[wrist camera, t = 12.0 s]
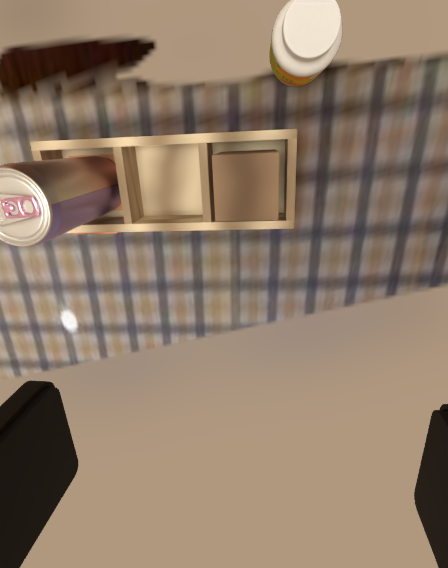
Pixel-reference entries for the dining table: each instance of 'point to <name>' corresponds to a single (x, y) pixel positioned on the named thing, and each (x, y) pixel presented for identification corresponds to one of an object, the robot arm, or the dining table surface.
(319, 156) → the dining table surface
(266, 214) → the walnut block
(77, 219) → the beverage can
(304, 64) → the supplement bottle
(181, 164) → the rack
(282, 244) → the dining table surface
